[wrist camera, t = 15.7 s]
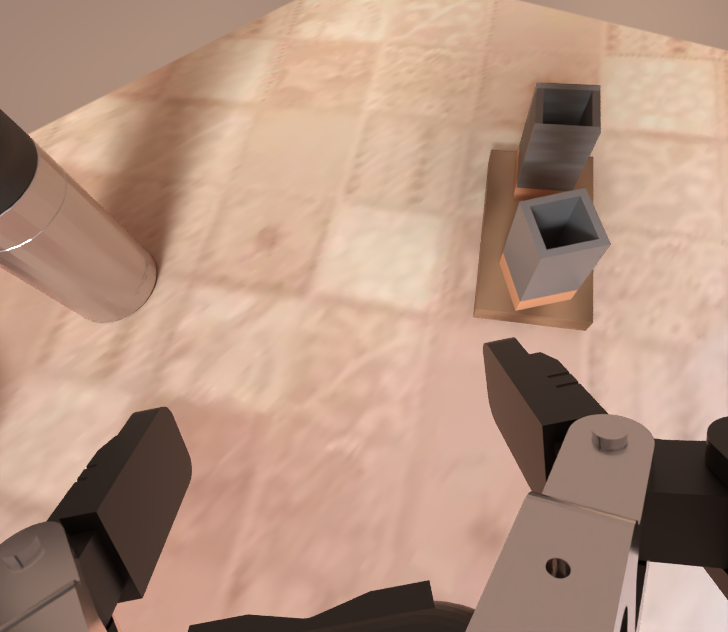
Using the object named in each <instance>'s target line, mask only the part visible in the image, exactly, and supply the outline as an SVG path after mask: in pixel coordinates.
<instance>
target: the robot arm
mask: <svg viewBox="0 0 728 632" xmlns="http://www.w3.org/2000/svg"><path fill="white" fill-rule="evenodd" d="M0 267H1V268H2V269H4V270H6V271H7V272H9V273H11V274H12V275H14V276H16V277H18V278H19V279H21V280H23V281H24V282H26V283H28V284H29V285H31V286H33V287H34V288H36V289H38V290H39V291H41V292H43V293H44V294H46V295H48V296H49V297H51V298H53V299H54V300H56V301H58V302H59V303H61V304H63V305H64V306H66V307H68V308H69V309H71V310H73V311H74V312H76V313H78V314H79V315H81V316H83V317H84V318H86V319H89V320H91V321H95V322H101V323H102V322H112V321H116V320H120V319H122V318H124V317H127V316H129V315H130V314H132V313H133V312H135V311H136V310H137V309H138V308H139V307H141V306H142V305H143V304H144V303H145V301H146V300H147V298H148V297H149V296H150V294H151V292H152V290H153V288H154V285H155V281H156V266H155V262H154V260H153V258H152V256H151V255H150V254H149V253H148V252H147V251H146V250H145V249H144V248H143V247H142V246H141V245H140V244H139V243H138V242H137V241H136V240H135V239H134V238H133V237H132V236H131V235H130V234H129V233H128V232H127V231H126V230H125V229H124V228H123V227H122V226H121V225H120V224H119V223H118V222H117V221H116V220H115V219H114V218H113V217H112V216H111V215H110V214H109V213H108V212H107V211H106V210H105V209H104V208H103V207H102V206H100V205H99V204H98V203H97V202H96V201H95V200H94V199H93V198H92V197H91V196H90V195H89V194H88V193H87V192H86V191H85V190H84V189H83V188H82V187H81V186H80V185H79V184H78V183H77V182H76V181H75V180H74V179H73V178H72V177H71V176H70V175H69V174H68V173H67V172H66V171H65V170H64V169H63V168H62V167H61V166H60V165H58V164H57V163H56V162H55V161H54V160H53V159H52V158H51V157H50V156H49V155H48V154H47V153H46V152H45V151H44V150H43V149H42V148H41V147H40V146H39V145H38V144H37V143H36V142H35V141H34V140H33V139H32V138H30V136H29V135H28V134H26V133H25V132H24V131H23V130H22V129H21V128H20V127H19V126H18V125H17V124H16V123H15V122H14V121H13V120H11V118H9V117H8V116H7V115H6V114H5V113H4V112H3V111H2V110H1V109H0ZM483 355H484V364H485V373H486V381H487V390H488V398H489V404H490V408H491V412H492V415H493V418H494V420H495V422H496V424H497V426H498V428H499V430H500V432H501V434H502V436H503V438H504V439H505V441H506V443H507V445H508V447H509V449H510V451H511V453H512V454H513V456H514V458H515V460H516V462H517V464H518V466H519V468H520V470H521V471H522V473H523V475H524V477H525V479H526V481H527V483H528V485H529V487H530V488H531V490H532V491H531V492H529V493H528V495H527V496H526V498H525V500H524V502H523V504H522V506H521V508H520V511H519V513H518V515H517V517H516V520H515V522H514V524H513V526H512V529H511V531H510V533H509V535H508V538H507V540H506V542H505V544H504V546H503V549H502V551H501V553H500V555H499V558H498V560H497V562H496V564H495V567H494V569H493V571H492V573H491V576H490V578H489V580H488V582H487V585H486V587H485V589H484V591H483V593H482V596H481V598H480V600H479V602H478V605H477V607H476V609H472V608H469V607H466V606H463V605H460V604H455V603H450V602H443V601H433V596H432V591H431V586H430V581H429V580H428V581H423V582H418V583H412V584H407V585H402V586H396V587H391V588H386V589H381V590H375V591H370V592H368V593H365V594H363V595H361V596H359V597H356V598H354V599H352V600H350V601H347V602H345V603H343V604H341V605H338V606H336V607H334V608H332V609H329V610H327V611H325V612H323V613H320V614H318V615H316V616H313V617H311V618H305V619H301V618H287V617H274V616H261V615H243V616H238V617H232V618H227V619H222V620H216V621H211V622H206V623H200V624H195V625H190V626H189V629H188V632H639V628H640V621H641V615H642V608H643V602H644V595H645V589H646V582H647V576H648V569H649V563H650V562H660V563H671V564H681V565H691V566H701V567H704V569H705V570H706V571H707V573H708V574H709V575H710V577H711V578H712V579H713V581H714V582H715V583H716V585H717V586H718V588H719V589H720V590H721V592H722V593H723V594H724V596H725V597H726V598H727V600H728V417H723V418H720V419H718V420H716V421H714V422H713V423H712V424H711V425H710V426H709V427H708V430H707V440H706V441H683V440H661V439H654V438H653V436H652V434H651V432H650V431H649V430H648V429H647V428H645V427H644V426H643V425H641V424H640V423H638V422H636V421H634V420H631V419H629V418H626V417H622V416H618V415H610V414H608V413H607V412H606V411H605V410H604V409H603V408H602V407H601V406H600V405H599V403H598V402H597V401H596V400H595V399H594V398H593V397H592V396H591V395H590V394H589V393H588V392H587V391H586V390H585V388H584V387H583V386H582V385H581V384H578V381H577V380H576V379H575V378H574V377H573V376H572V375H571V374H569V371H568V370H567V369H566V368H565V367H564V366H563V365H562V364H561V363H560V362H559V361H558V360H556V359H554V358H552V357H550V356H548V355H546V354H543V353H541V352H539V353H534V354H528V353H527V351H526V350H525V349H524V348H523V347H522V345H521V344H520V343H519V342H518V341H517V339H516V338H514V337H513V338H508V339H503V340H498V341H493V342H488V343H484V345H483ZM86 467H87V469H84V470H83V472H82V473H81V475H80V476H79V477H78V479H77V482H75V483H74V484H73V485H72V487H71V488H70V490H69V491H68V492H67V494H66V495H65V496H64V498H63V499H62V501H61V502H60V503H59V505H58V506H57V507H56V509H55V510H54V512H53V513H52V514H51V516H50V517H49V518H48V520H47V521H46V522H43V523H39V524H35V525H32V526H30V527H28V528H25V529H23V530H21V531H20V532H18V533H16V534H14V535H13V536H11V537H10V538H8V539H7V540H5V541H4V542H3V543H1V544H0V632H121V629H120V626H119V624H118V622H117V620H116V619H115V617H114V615H113V612H114V609H115V607H116V605H117V603H120V602H125V601H131V600H136V599H141V598H143V596H144V593H145V591H146V588H147V586H148V583H149V581H150V579H151V576H152V574H153V571H154V569H155V566H156V564H157V561H158V559H159V557H160V554H161V552H162V549H163V547H164V544H165V542H166V539H167V537H168V535H169V532H170V530H171V527H172V525H173V522H174V520H175V517H176V515H177V513H178V510H179V508H180V505H181V503H182V500H183V498H184V495H185V493H186V490H187V488H188V486H189V483H190V480H191V475H192V465H191V459H190V456H189V453H188V451H187V448H186V446H185V443H184V441H183V439H182V436H181V434H180V431H179V429H178V427H177V424H176V422H175V419H174V417H173V415H172V413H171V411H170V410H169V409H168V408H167V407H159V408H154V409H149V410H144V411H139V412H135V413H133V414H132V415H131V417H130V418H129V420H128V421H127V422H126V424H125V425H124V427H123V428H122V429H121V431H120V432H119V434H118V435H117V436H115V437H114V438H113V439H111V440H110V441H109V442H108V443H107V444H105V445H104V446H103V447H102V448H101V449H99V450H98V451H97V453H96V454H95V455H94V457H93V458H92V459H91V461H90V462H89V464H88V465H87V466H86Z"/></svg>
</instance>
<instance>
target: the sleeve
mask: <svg viewBox="0 0 728 632" xmlns="http://www.w3.org/2000/svg"><path fill="white" fill-rule="evenodd" d="M610 245H611V243H610V241H609V239H608V237H607V234H606V232H605V230H604V228H603V226H602V223H601V221H600V219H599V217H598V214H597V212H596V210H595V208H594V205H593V203H592V201H591V199H590V197H589V194H588V192H587V190H586V188H582V189H577V190H572V191H568V192H563V193H558V194H553V195H549V196H544V197H539V198H535V199H530V200H525V201H520V202H519V205H518V208H517V211H516V214H515V217H514V220H513V223H512V226H511V229H510V232H509V235H508V238H507V241H506V244H505V247H504V250H503V253H502V256H501V259H500V262H499V263H500V266H501V269H502V272H503V275H504V278H505V281H506V284H507V287H508V290H509V293H510V296H511V299H512V302H513V305H514V308H515V311H517V310H522V309H527V308H532V307H536V306H541V305H546V304H551V303H556V302H561V301H566V300H570V299H572V297H573V296H574V295H575V293H576V292H577V290H578V289H579V288H580V286H581V285H582V283H583V282H584V281H585V279H586V278H587V277H588V275H589V274H590V272H591V271H592V270H593V268H594V267H595V266H596V264H597V263H598V261H599V260H600V259H601V257H602V256H603V254H604V253H605V252H606V250H607V249H608V248H609V246H610Z"/></svg>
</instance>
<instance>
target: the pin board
mask: <svg viewBox="0 0 728 632" xmlns="http://www.w3.org/2000/svg"><path fill="white" fill-rule="evenodd" d="M600 133H601V122H600V85H581V84H558V83H537V85H536V88H535V92H534V96H533V99H532V103H531V106H530V110H529V113H528V117H527V120H526V124H525V128H524V131H523V135H522V138H521V142H520V145H519V149H518V152H513V151H498V150H491V153H490V158H489V163H488V173H487V184H486V194H485V204H484V214H483V224H482V234H481V245H480V255H479V265H478V275H477V285H476V296H475V306H474V316H473V317H477V318H485V319H494V320H502V321H510V322H519V323H527V324H535V325H543V326H552V327H560V328H568V329H576V330H585V331H586V329H587V328H588V327H589V326H590V325H591V324H592V323H593V270H592V271H591V272H590V274H589V275H588V277H587V278H586V279H585V281H584V282H583V283H582V285H581V286H580V288H579V289H578V290H577V292H576V293H575V295H574V296H573V297H572V299H570V300H566V301H561V302H556V303H551V304H546V305H541V306H536V307H532V308H527V309H522V310H517V311H515V308H514V305H513V302H512V299H511V296H510V293H509V290H508V287H507V284H506V281H505V278H504V275H503V272H502V269H501V266H500V263H499V262H500V259H501V256H502V253H503V250H504V247H505V244H506V241H507V238H508V235H509V232H510V229H511V226H512V223H513V220H514V217H515V214H516V211H517V208H518V205H519V202H520V201H525V200H530V199H535V198H539V197H544V196H549V195H553V194H558V193H563V192H568V191H572V190H577V189H582V188H586V190H587V192H588V194H589V197H590V199H591V201H592V203H593V157H589V156H590V154H591V152H592V150H593V148H594V145H595V143H596V141H597V139H598V137H599V135H600Z"/></svg>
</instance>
